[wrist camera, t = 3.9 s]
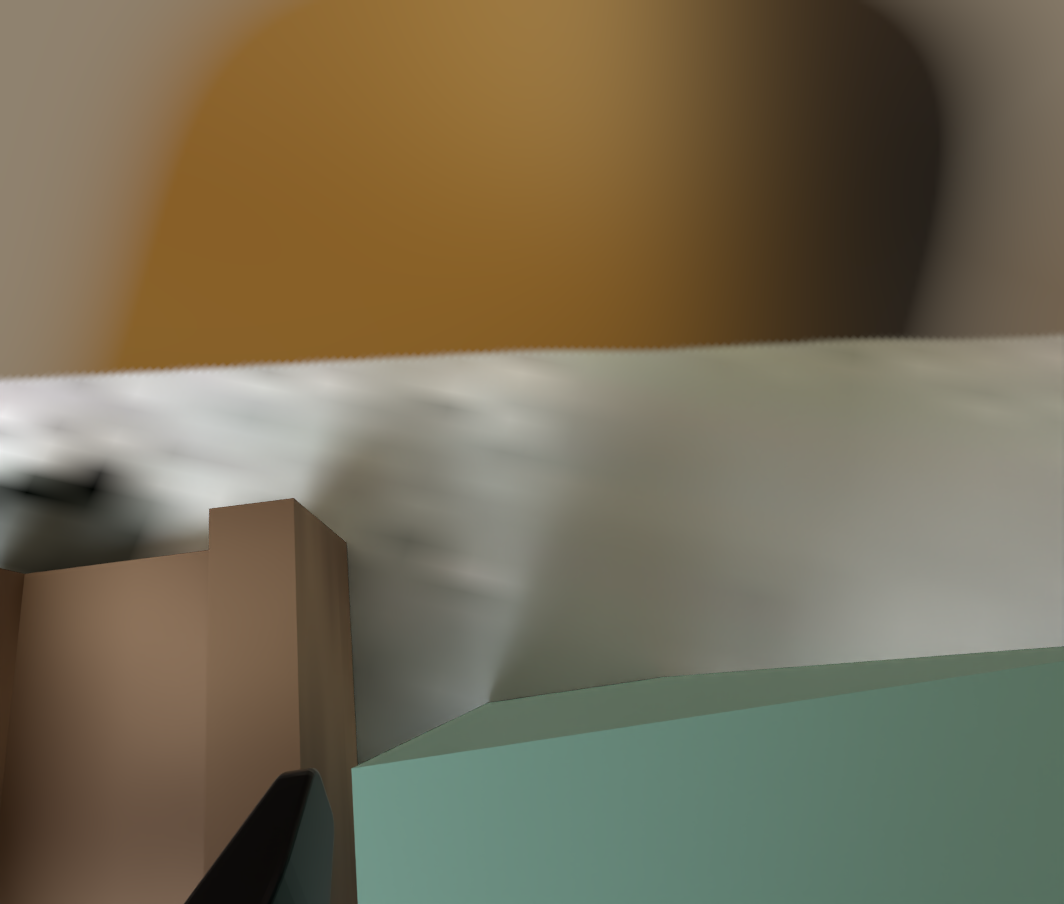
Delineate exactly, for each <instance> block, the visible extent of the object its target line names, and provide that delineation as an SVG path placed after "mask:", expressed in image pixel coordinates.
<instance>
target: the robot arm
mask: <svg viewBox="0 0 1064 904" xmlns="http://www.w3.org/2000/svg"><path fill="white" fill-rule="evenodd" d="M333 845H334V818H333V813H332V809H331V806H330V803H329V800H328V797H327V794H326V791H325V788H324V785H323V782H322V778H321V776H320V773H319V772H318V771H317V769H315V768H306V769H299V770H293V771H287V772H283V773H282V774H280V775H279V776H278V777H277V778H276V779H275V780H274V782H273V783H272V785H271V786H270V787H269V789H268V790H267V791H266V793H265V794H264V795H263V797H262V798H261V799H260V801H259V802H258V804H257V805H256V806H255V808H254V809H253V810H252V812H251V813H250V814H249V816H248V817H247V819H246V820H245V821H244V823H243V824H242V825H241V827H240V828H239V829H238V831H237V832H236V833H235V835H234V836H233V838H232V839H231V840H230V842H229V843H228V844H227V846H226V847H225V848H224V850H223V851H222V852H221V854H220V855H219V857H218V858H217V859H216V861H215V862H214V863H213V865H212V866H211V867H210V869H209V870H208V872H207V873H206V874H205V876H204V877H203V878H202V880H201V881H200V882H199V884H198V885H197V886H196V888H195V889H194V891H193V892H192V893H191V895H190V896H189V897H188V899H187V900H186V901H185V903H184V904H330V892H331V876H332V860H333Z"/></svg>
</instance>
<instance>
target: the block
mask: <svg viewBox="0 0 1064 904" xmlns="http://www.w3.org/2000/svg"><path fill="white" fill-rule="evenodd" d="M351 772H352V793H353V814H354V835H355V856H356V877H357V898H358V904H1064V646H1063V647H1050V648H1037V649H1024V650H1011V651H998V652H984V653H971V654H958V655H945V656H932V657H919V658H906V659H893V660H880V661H867V662H854V663H841V664H827V665H814V666H801V667H788V668H775V669H762V670H749V671H736V672H723V673H710V674H697V675H683V676H670V677H661V678H654V679H647V680H641V681H634V682H627V683H620V684H613V685H607V686H600V687H593V688H586V689H579V690H572V691H566V692H559V693H552V694H545V695H538V696H532V697H525V698H518V699H511V700H504V701H498V702H491V703H487V704H485V705H482V706H480V707H478V708H476V709H474V710H472V711H470V712H468V713H466V714H464V715H462V716H460V717H457V718H455V719H453V720H451V721H449V722H447V723H445V724H443V725H441V726H439V727H437V728H435V729H432V730H430V731H428V732H426V733H424V734H422V735H420V736H418V737H416V738H414V739H412V740H410V741H407V742H405V743H403V744H401V745H399V746H397V747H395V748H393V749H391V750H389V751H387V752H385V753H382V754H380V755H378V756H376V757H374V758H372V759H370V760H368V761H366V762H364V763H362V764H360V765H358V766H355V767H353V768H351Z"/></svg>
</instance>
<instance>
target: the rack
mask: <svg viewBox="0 0 1064 904" xmlns="http://www.w3.org/2000/svg"><path fill="white" fill-rule="evenodd" d="M355 766H358V762H357V742H356V722H355V702H354V682H353V663H352V643H351V623H350V603H349V583H348V563H347V543H346V542H345V541H344V540H343V539H342V538H340V537H339V536H338V535H337V534H336V533H334V532H333V531H332V530H331V529H330V528H328V527H327V526H326V525H325V524H324V523H323V522H321V521H320V520H319V519H318V518H317V517H315V516H314V515H313V514H312V513H311V512H309V511H308V510H307V509H306V508H305V507H303V506H302V505H301V504H300V503H299V502H298V501H296V500H295V499H294V498H291V499H283V500H275V501H268V502H260V503H252V504H244V505H236V506H228V507H220V508H212V509H209V550H205V551H198V552H190V553H182V554H175V555H167V556H159V557H151V558H144V559H136V560H128V561H121V562H113V563H105V564H98V565H90V566H82V567H74V568H67V569H59V570H51V571H44V572H36V573H28V574H22V573H18V572H14V571H9V570H5V569H1V568H0V904H184V903H185V901H186V900H187V899H188V897H189V896H190V895H191V893H192V892H193V891H194V889H195V888H196V886H197V885H198V884H199V882H200V881H201V880H202V878H203V877H204V876H205V874H206V873H207V872H208V870H209V869H210V867H211V866H212V865H213V863H214V862H215V861H216V859H217V858H218V857H219V855H220V854H221V852H222V851H223V850H224V848H225V847H226V846H227V844H228V843H229V842H230V840H231V839H232V838H233V836H234V835H235V833H236V832H237V831H238V829H239V828H240V827H241V825H242V824H243V823H244V821H245V820H246V819H247V817H248V816H249V814H250V813H251V812H252V810H253V809H254V808H255V806H256V805H257V804H258V802H259V801H260V799H261V798H262V797H263V795H264V794H265V793H266V791H267V790H268V789H269V787H270V786H271V785H272V783H273V782H274V780H275V779H276V778H277V777H278V776H279V775H280V774H282V773H283V772H287V771H293V770H299V769H306V768H315V769H317V771H318V772H319V773H320V776H321V778H322V782H323V785H324V788H325V791H326V794H327V797H328V800H329V803H330V806H331V809H332V813H333V818H334V845H333V860H332V876H331V892H330V904H358V898H357V877H356V856H355V835H354V814H353V793H352V772H351V768H353V767H355Z"/></svg>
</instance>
